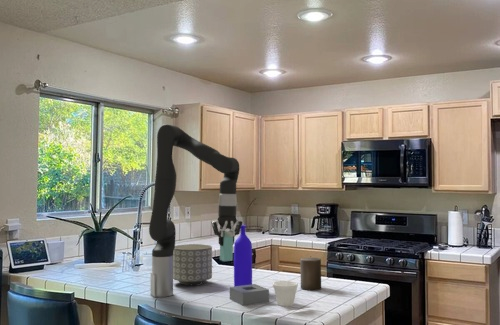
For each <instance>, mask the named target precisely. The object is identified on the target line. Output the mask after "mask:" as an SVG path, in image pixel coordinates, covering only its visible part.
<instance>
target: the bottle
mask: <svg viewBox="0 0 500 325" xmlns="http://www.w3.org/2000/svg"><path fill="white" fill-rule="evenodd" d="M246 228H247V225H245V224H244V225H243V224H242V226H241V229H240V233H239V236H238V237H237V239H235V240H234V244H233V287H234V286H242V285H251V284H253V247H252V245H253V244H252V241H251V240H250V238H249V237H248V236H247V234H246Z"/></svg>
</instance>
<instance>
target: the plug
mask: <svg viewBox="0 0 500 325" xmlns="http://www.w3.org/2000/svg"><path fill="white" fill-rule="evenodd" d="M219 260H220V261H222V262H230V261H231V262H232V261H233V260H234V244H233V232H231V231H229V230H225V232H224V235H223V246H220V245H219Z"/></svg>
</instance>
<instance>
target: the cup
mask: <svg viewBox="0 0 500 325" xmlns="http://www.w3.org/2000/svg"><path fill="white" fill-rule="evenodd" d="M272 288H273V289H274V294H275V298H276V303H277V305H278V306H281V307H291V306H293V305H294V303H295V298H296V293H297V289H298V282H296V281H292V280H291V281H290V280H277V281H273V283H272Z"/></svg>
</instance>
